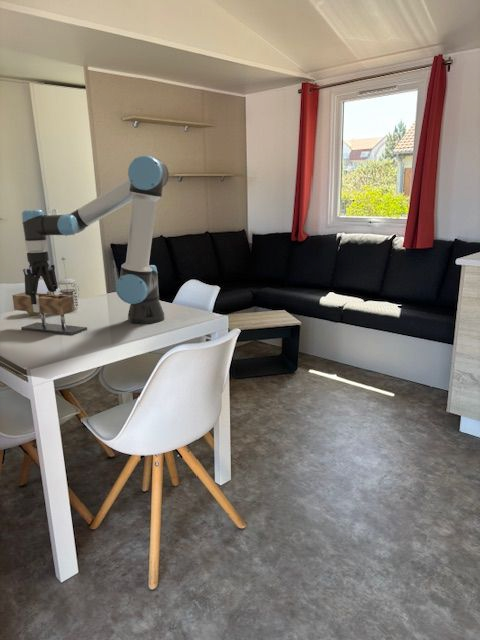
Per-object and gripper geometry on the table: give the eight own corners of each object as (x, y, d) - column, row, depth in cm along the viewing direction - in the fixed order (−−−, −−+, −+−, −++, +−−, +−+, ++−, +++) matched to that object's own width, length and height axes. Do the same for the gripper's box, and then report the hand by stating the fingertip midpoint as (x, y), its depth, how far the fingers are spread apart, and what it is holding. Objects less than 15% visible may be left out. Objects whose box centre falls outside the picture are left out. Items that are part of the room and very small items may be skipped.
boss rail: (87, 329, 183) (84, 306, 181) (73, 335, 176) (70, 310, 174) (37, 324, 193) (34, 302, 191) (21, 329, 186) (18, 306, 184)
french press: (53, 312, 214) (46, 258, 208) (71, 307, 224) (65, 255, 218) (70, 314, 210) (64, 258, 204) (88, 308, 220) (82, 255, 214)
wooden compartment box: (74, 311, 183) (72, 296, 181) (61, 315, 177) (59, 299, 175) (28, 306, 192) (26, 291, 190) (14, 309, 185) (12, 295, 184)
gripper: (49, 248, 189) (55, 304, 194) (8, 254, 171) (17, 314, 176) (63, 249, 186) (70, 305, 191) (23, 254, 168) (32, 316, 174)
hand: (44, 309), depth 184 cm, fingers closed on wooden compartment box, 7 cm apart
